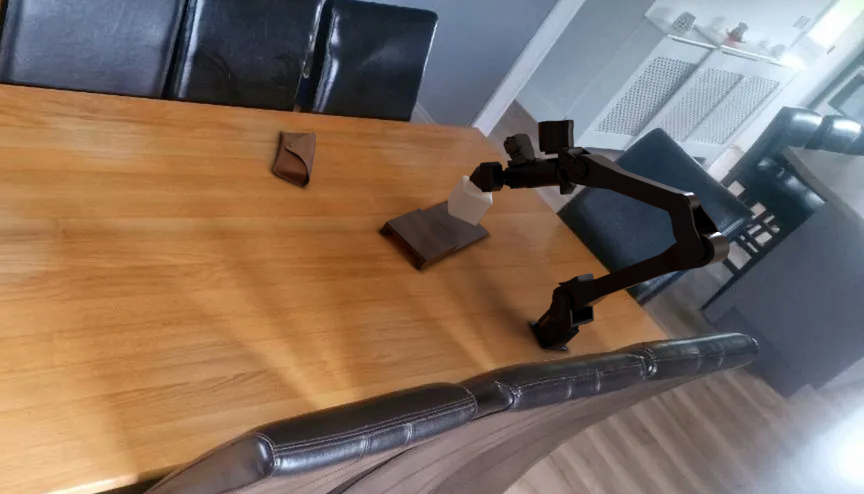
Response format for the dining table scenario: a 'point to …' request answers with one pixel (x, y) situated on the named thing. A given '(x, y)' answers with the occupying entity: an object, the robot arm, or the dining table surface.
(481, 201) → the medicine bottle
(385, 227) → the step shelf
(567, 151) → the robot arm
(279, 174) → the sunglasses case
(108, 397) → the dining table surface
